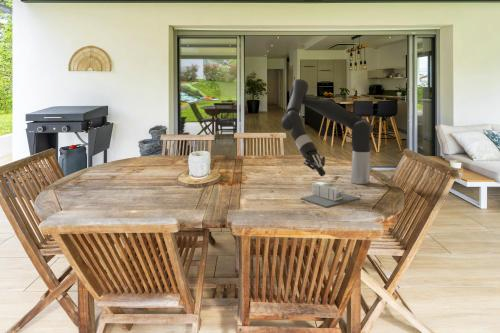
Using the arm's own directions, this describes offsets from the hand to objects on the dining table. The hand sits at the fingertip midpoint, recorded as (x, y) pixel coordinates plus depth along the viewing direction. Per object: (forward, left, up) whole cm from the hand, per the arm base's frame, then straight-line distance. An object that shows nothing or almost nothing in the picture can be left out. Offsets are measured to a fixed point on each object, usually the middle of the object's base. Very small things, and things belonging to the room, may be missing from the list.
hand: (323, 175), depth 178 cm
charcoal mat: (0, +5, -10) cm, 11 cm away
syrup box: (0, -4, -7) cm, 8 cm away
